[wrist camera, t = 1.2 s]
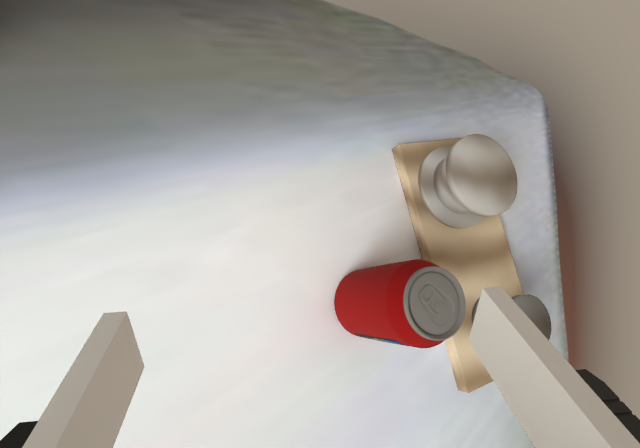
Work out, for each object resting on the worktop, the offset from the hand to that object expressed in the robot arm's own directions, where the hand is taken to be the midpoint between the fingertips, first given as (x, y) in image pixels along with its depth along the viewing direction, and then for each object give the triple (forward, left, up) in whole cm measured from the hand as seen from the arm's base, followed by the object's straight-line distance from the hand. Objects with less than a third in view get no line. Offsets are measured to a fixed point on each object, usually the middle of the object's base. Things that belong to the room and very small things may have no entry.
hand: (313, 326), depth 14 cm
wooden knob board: (0, +28, -21) cm, 35 cm away
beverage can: (+2, +13, -21) cm, 25 cm away
